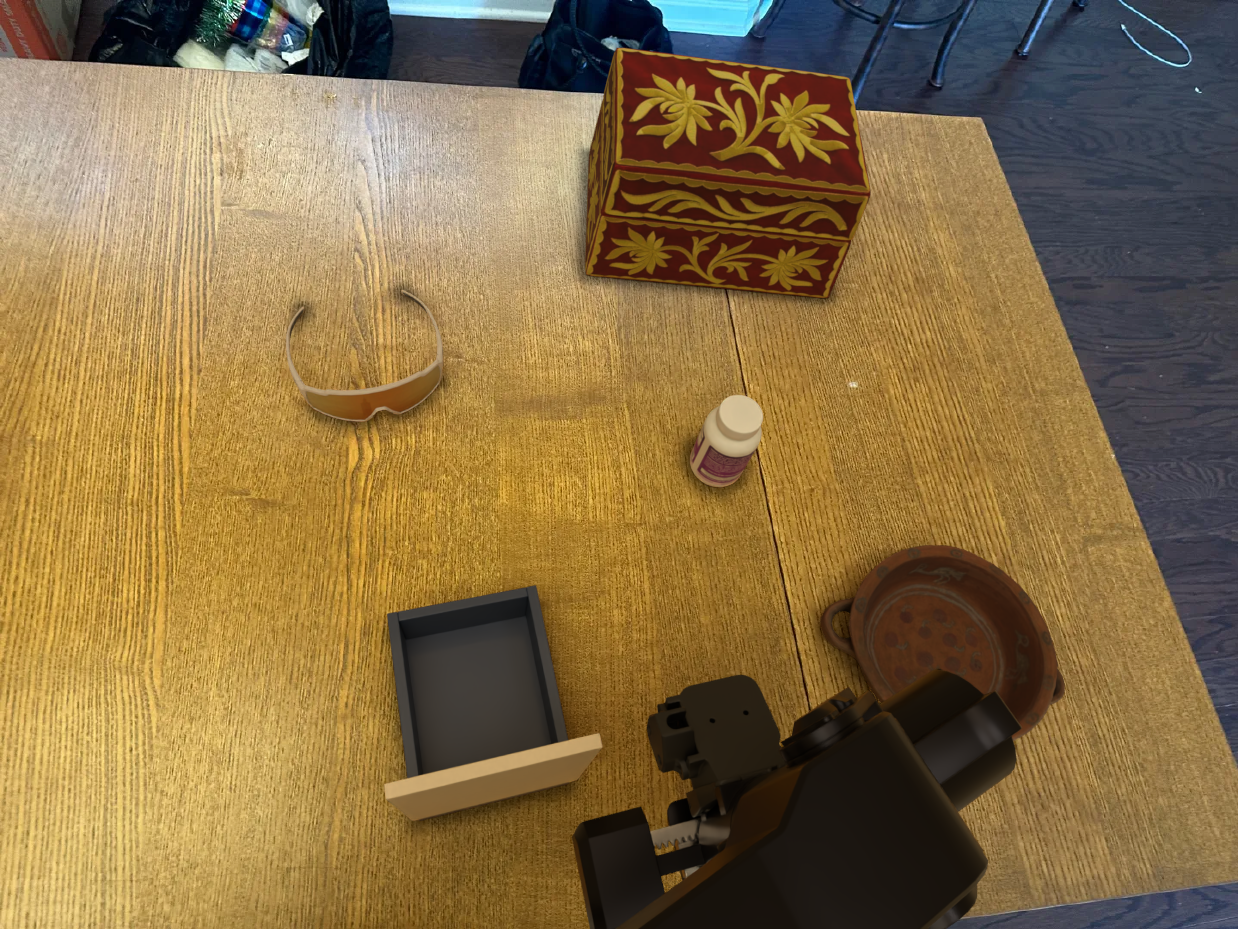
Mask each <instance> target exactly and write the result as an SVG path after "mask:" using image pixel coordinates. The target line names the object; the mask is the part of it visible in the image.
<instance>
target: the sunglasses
mask: <svg viewBox="0 0 1238 929" xmlns="http://www.w3.org/2000/svg"><path fill="white" fill-rule="evenodd" d="M400 291H401V294H402V295H403V296H404V297H406V298H408V299H409V300H411V301H413V302H415V303H416V304H417V305H418V306H419V307H420V308H422V310H423V311H424V312H425V314H427V316H428V318H429V320H430V322H431V325H432V326H433V327H434V330H435V335H436V356H435V357H436V358H435V360H434V361H432V363H430V364H429V365H428V366H427V367H426V368H424V369H423V370H419V371H417V372H415V373H412V374H411V375H408V376H407V377H405V378H402V379H400V380H396V381H394V382H390V383H386V384H382V385H379V386H374V387H367V388H360V389H345V390H344V389H330V388H329V389H328V388H327V389H321V388H316V387H313V386H310V385H307V384H305V382H304V381H303V380H302V378H301V376H300V374H299V372H298V371H297V369H296V367H295V365H294V361H293V359H292V355H291V337H292V332H293V330H294V328H295V326H296V324H297V322H298V321H299V320H300V318H301V316H302V315H303V314H304V312H305V307H304V306H301V307H300V308H299V309H298V310H297V312H296V313H295V314H294V316H293V317H292V319H291V321H290V322H289V325H288V327H287V330H286V336H285V352H286V361H287V366H288V368H289V372H290V375H291V377H292V379H293V381H294V384H295V385H296V387H297V389H298V391H299V393H300V394H301V395H302V396H303V398H304V400H305V401H306V403H307V405H309V407H311V408H312V409H313V410H315V411H317V412H319V413H321V414H322V415H325V416H328V417H331V418H334V419H337V420H342V421H347V422H361V423H363V422H368V421H370V420H372V419H373V417H374V416H375V414H377V412H379V411H384V410H386V411H388V412H390V413H391V414H394V415H402V414H405V413H407V412H408V411H410V410H412V409H415V408H416V407H417V406H419V405H420V404H421V403H423V402H424V401H425V400H427V398H428V397H430V395H432V393H433V392H434V391H435V390H436V389H437V387H438V386H439V385H440V383H441V381H442V378H443V367H444V344H443V340H442V339H443V338H442V335H441V332H440V329H439V327H438V324H437V322H436V320H435V317H434V315H433V313H432V312H431V310H430V308H429V307H428V306H427V304H425V303H424V302H423V301H422V300H421V299H420V298H418V297H417V296H415V295H414V294H412V293H410V292H409V291H407V290H404V289H401V290H400Z"/></svg>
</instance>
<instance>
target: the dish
mask: <svg viewBox="0 0 1238 929" xmlns="http://www.w3.org/2000/svg"><path fill="white" fill-rule="evenodd" d="M841 612H845V613H848V615H849V618H848V632H849V637H843V636H840V635H839V634H838V633H837V631H835V629H834V626H833V621H834V620H833V619H834V617H836V615H837V614H839V613H841ZM819 619H820V620H819V624H820V631H821V633H822V634H823V637H824V639H825V640H826V641H827V642H828V643H829V644H830V645H831V646H833V647H834V648H836V649H838V650H839V651H842V652H843V653H845V654H847V655H849V656H851V657H852V658H853V659H855V660H856V663H857V664H858V666H859V668H860V671H861V673H862V675H863V678H864V680H865V682H866V684H867V685H868V688H869V690H870V691H871V693H872V694H873V695H874V697H876V699H877V701H879V702H880V703H882V702H883V701H885V700H887V699H888V698H890V697H891V696H893V695H894V694H896V693H898V692H899V691H901V690H902V689H904V688H905V687H907V686H909V685H910V684H912V683H913V682H915V681H916V680H918V679H920V678H921V677H923V676H924V675H926V674H927V673H929V672H931V671H932V670H935V669H938V668H940V669H942V670H943V671H948V672H951V673H954V674H956V675H958V676H960V677H962V678H963V679H965V680H967V681H968V682H970V683H971V684H972V685H973V686H974V687H976V688H977V689H978V690H979V691H981V692H982V693H983V694H987V693H989V692H992V691H996V692H997V693H998V694H999V696H1000V697H1001V698H1002V700H1003V701H1004V703H1005V704H1006V705H1007V707H1008V708H1009V710H1010V711H1011V712H1012V714H1013V715H1014V717H1015V718H1016V719H1017V721H1018V722H1019V724H1020V725H1021V726H1022V729H1021V730H1019V731H1018V732H1017V733H1015V734H1014V735H1012V739H1013V742H1014V741H1016V740H1018V739H1021V738H1023V737H1024V736H1025V735H1027V734H1028V733H1030V732H1031V731H1032V730H1033V729H1034V728H1035V727H1037V726H1038V725H1039V724H1040V723H1041V721H1043V719H1044V717H1045V715H1046V714H1047V711H1049V708H1050V706H1051V705H1054V704H1056V703H1058V702H1059V701H1061V700H1062V699H1063V697H1064V695H1065V692H1066V685H1065V679H1064V677H1063V674H1062V672H1061V671H1060V669H1059V663H1058V657H1057V652H1056V649H1055V646H1054V641H1053V639H1052V636H1051V632H1050V629H1049V627H1048V625H1047V623H1046V620H1045V619H1044V617H1043V616H1042V614H1041V611H1040V610H1039V609H1038V607H1037V605H1036V604H1035V603H1034V601H1033V600H1032V599H1031V597H1030V596H1029V594H1028V592H1026V591H1025V589H1023V588H1022V586H1021V585H1020V584H1019V583H1018V582H1017V581H1015V579H1013V578H1012V577H1011V576H1010V575H1009V574H1008V573H1006V572H1005V571H1004V570H1003V569H1001V568H1000V567H998V566H997V565H996V564H994V563H992V562H990V561H989V560H987V559H985V558H984V557H981V556H980V555H977V554H975V553H973V552H971V551H969V550H966V549H964V548H960V547H955V546H952V545H944V544H938V545H937V544H936V545H934V544H924V545H923V544H922V545H918V546H911V547H907V548H904V549H900V550H898V551H897V552H894V553H893V554H891V555H890V556H887V557H886V558H884V559H882V560H881V561H880V562H879V563H878V564H877V565H875V566H874V567H873V568H872V570H871V571H869V572H868V573H867V575H866V576H865V577H864V578H863V580H862V581H861V583H860V584H859V586H858V588H857V591H856V592H855V595H854V596H853V597H847V598H842V599H839V600H836V601H834V602H832V603H830V604H829V605H827V606H826V608H825V609H824V610H823V612H821V616H820V618H819Z"/></svg>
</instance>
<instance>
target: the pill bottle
mask: <svg viewBox="0 0 1238 929" xmlns="http://www.w3.org/2000/svg"><path fill="white" fill-rule="evenodd" d="M763 422H764V412H763V410H762V408H761V406H760V405H759V403H758V402H757V401H756V400H755V399H753V398H751V397H749V396H747V395H743V394H733V395H729V396H727V397H725V399H723V401H721V403H720V405H718V406H716V407H714V408H713V409H712V410H710V412H709V413H708V414H707V416H706V417H705V419H704V422H703V424H702V427H701V428H700V431H699V433H698V435H697V438H696V440H695V442H694V445H693V447H692V449H691V452H690V456H689V464H690V468H691V471H692V473H693V474H694V476H695V477H696V478H697V479H698V480H699V481H700V482H702V483H703V484H704V485H707V486H710V487H714V488H724V487H727V486H730V485H733V484H734V483H736V482H737V481H738V480H739V478H740V477H741V476H742V474H743V472H744V471H745V469H746V467H747V466H748V464H749V462H750V460H751V459H752V457H753V455H754V454H755V452H756V451H757V449H758V448H759V445H760V443H761V440H762V436H763V435H762V434H763V433H762V432H763V431H762V430H763V429H762V425H763Z"/></svg>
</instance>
